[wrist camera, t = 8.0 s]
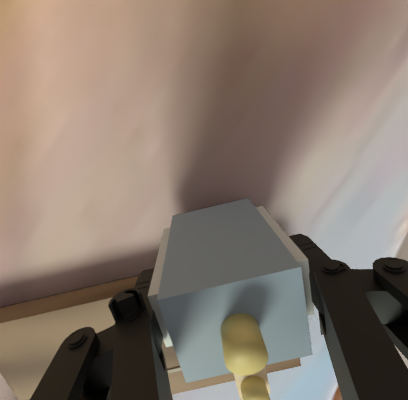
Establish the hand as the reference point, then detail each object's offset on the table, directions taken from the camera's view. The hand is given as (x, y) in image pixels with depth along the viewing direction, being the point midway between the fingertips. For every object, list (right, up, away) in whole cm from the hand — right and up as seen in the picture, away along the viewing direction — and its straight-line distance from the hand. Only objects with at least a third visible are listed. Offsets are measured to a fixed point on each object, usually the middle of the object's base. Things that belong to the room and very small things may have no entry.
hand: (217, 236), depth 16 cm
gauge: (+1, -4, +1) cm, 4 cm away
